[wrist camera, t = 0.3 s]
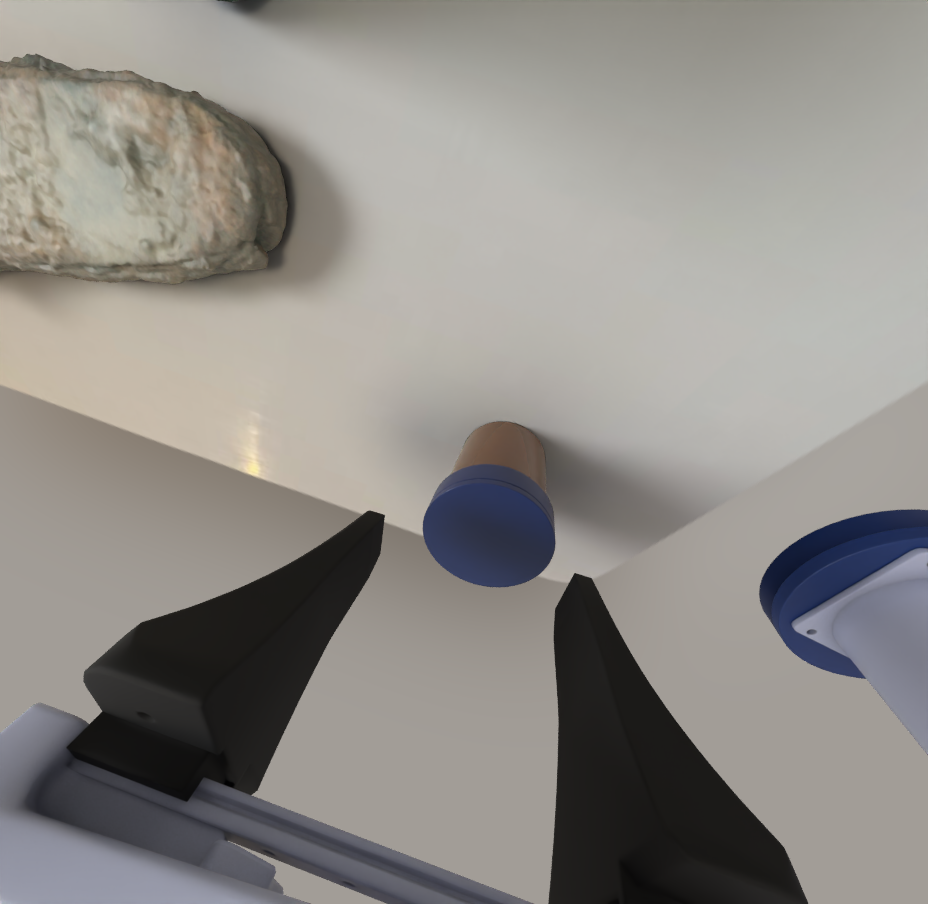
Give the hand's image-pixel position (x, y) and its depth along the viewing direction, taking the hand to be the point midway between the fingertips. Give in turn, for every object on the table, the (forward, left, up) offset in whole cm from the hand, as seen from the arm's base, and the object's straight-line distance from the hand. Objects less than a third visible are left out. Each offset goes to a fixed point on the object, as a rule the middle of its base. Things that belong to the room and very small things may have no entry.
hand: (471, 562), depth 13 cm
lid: (-1, +1, -3) cm, 3 cm away
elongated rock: (+31, -1, -10) cm, 33 cm away
